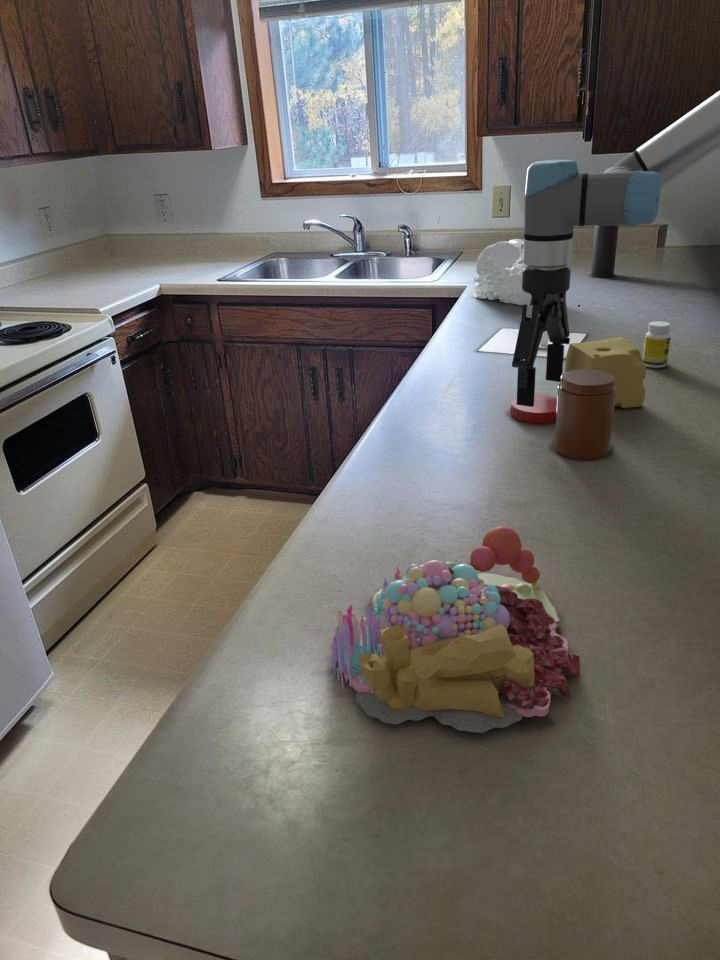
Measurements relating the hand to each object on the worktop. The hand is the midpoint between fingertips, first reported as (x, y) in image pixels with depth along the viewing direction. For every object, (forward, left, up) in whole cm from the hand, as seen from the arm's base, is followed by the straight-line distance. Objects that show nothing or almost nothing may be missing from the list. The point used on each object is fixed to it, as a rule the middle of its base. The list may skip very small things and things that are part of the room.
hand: (540, 392), depth 127 cm
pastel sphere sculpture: (-8, +65, -4) cm, 66 cm away
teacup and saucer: (+12, -43, -4) cm, 45 cm away
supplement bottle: (-15, -34, -4) cm, 37 cm away
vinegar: (+11, -121, -4) cm, 122 cm away
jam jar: (-10, +12, -4) cm, 16 cm away
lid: (0, 0, -2) cm, 2 cm away
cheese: (-9, -10, -4) cm, 14 cm away
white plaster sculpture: (+30, -83, -4) cm, 89 cm away
